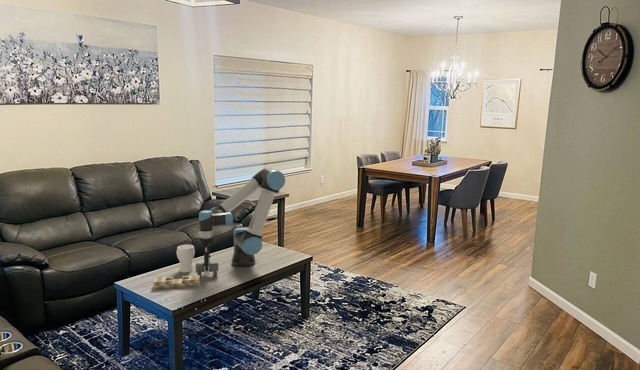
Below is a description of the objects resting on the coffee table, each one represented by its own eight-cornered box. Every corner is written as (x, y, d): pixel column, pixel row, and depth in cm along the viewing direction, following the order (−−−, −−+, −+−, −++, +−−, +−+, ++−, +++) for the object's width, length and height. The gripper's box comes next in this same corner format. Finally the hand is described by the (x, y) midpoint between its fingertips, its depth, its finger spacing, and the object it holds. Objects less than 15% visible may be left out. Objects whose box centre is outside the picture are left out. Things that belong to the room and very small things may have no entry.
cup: (190, 274, 278) (189, 250, 275) (174, 272, 280) (173, 248, 277) (198, 268, 288) (197, 244, 285) (182, 266, 290) (181, 243, 287)
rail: (199, 281, 266) (199, 275, 265) (199, 286, 259) (198, 279, 258) (156, 284, 261) (155, 277, 260) (154, 289, 254) (153, 282, 254)
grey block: (218, 274, 277) (218, 261, 276) (218, 276, 275) (218, 263, 273) (196, 275, 275) (195, 263, 273) (196, 277, 272) (195, 264, 271)
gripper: (200, 231, 282) (201, 265, 285) (198, 243, 258) (199, 279, 262) (213, 231, 283) (214, 264, 287) (212, 242, 260) (213, 279, 263)
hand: (207, 272), depth 274 cm, fingers open, 12 cm apart
